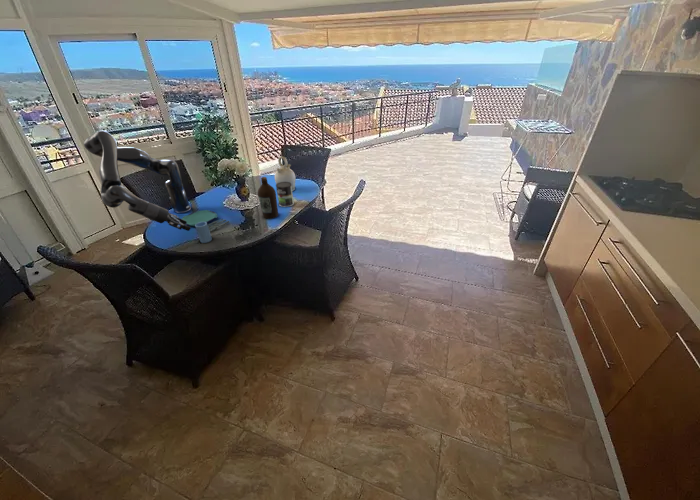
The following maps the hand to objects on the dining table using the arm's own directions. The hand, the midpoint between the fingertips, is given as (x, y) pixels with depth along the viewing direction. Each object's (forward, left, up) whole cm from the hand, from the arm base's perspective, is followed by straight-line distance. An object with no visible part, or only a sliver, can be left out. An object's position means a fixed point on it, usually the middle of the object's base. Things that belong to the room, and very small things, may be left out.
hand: (187, 226), depth 153 cm
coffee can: (+30, +58, -11) cm, 66 cm away
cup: (+4, +5, -11) cm, 13 cm away
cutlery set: (-10, +24, -11) cm, 28 cm away
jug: (+20, +83, -11) cm, 86 cm away
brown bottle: (+27, +39, -11) cm, 49 cm away
